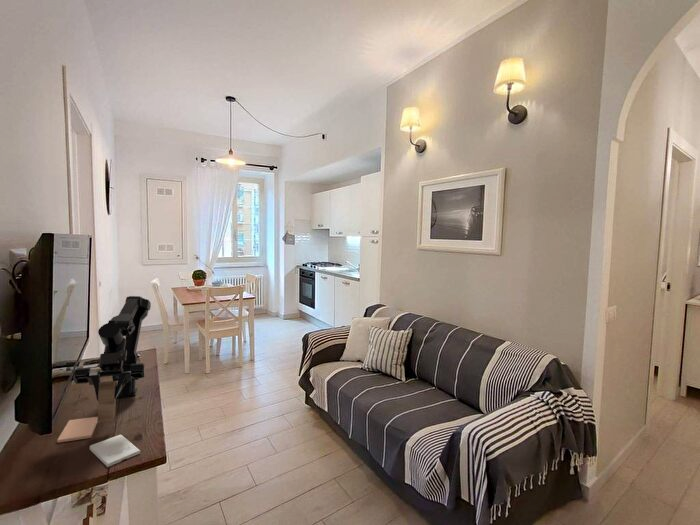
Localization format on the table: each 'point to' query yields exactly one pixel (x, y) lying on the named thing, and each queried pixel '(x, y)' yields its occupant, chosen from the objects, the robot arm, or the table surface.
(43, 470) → the table surface
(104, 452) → the external hard drive
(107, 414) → the brown rectangular block
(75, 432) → the terracotta mat
